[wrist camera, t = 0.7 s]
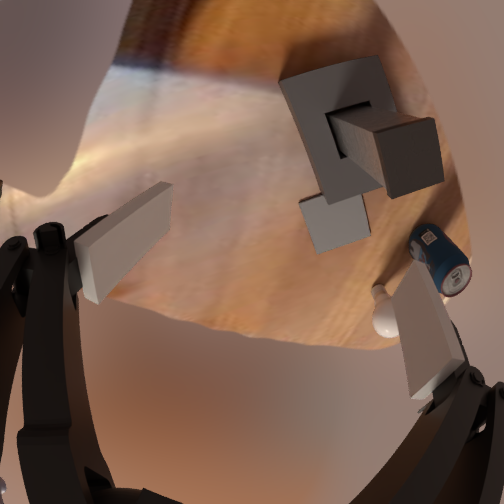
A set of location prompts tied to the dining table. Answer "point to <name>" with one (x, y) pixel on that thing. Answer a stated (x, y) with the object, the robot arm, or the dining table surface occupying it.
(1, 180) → the rock
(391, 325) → the lightbulb
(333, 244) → the mat
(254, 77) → the dining table surface
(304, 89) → the dark gray block
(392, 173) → the plug
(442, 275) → the soda can
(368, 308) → the dining table surface
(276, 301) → the dining table surface
